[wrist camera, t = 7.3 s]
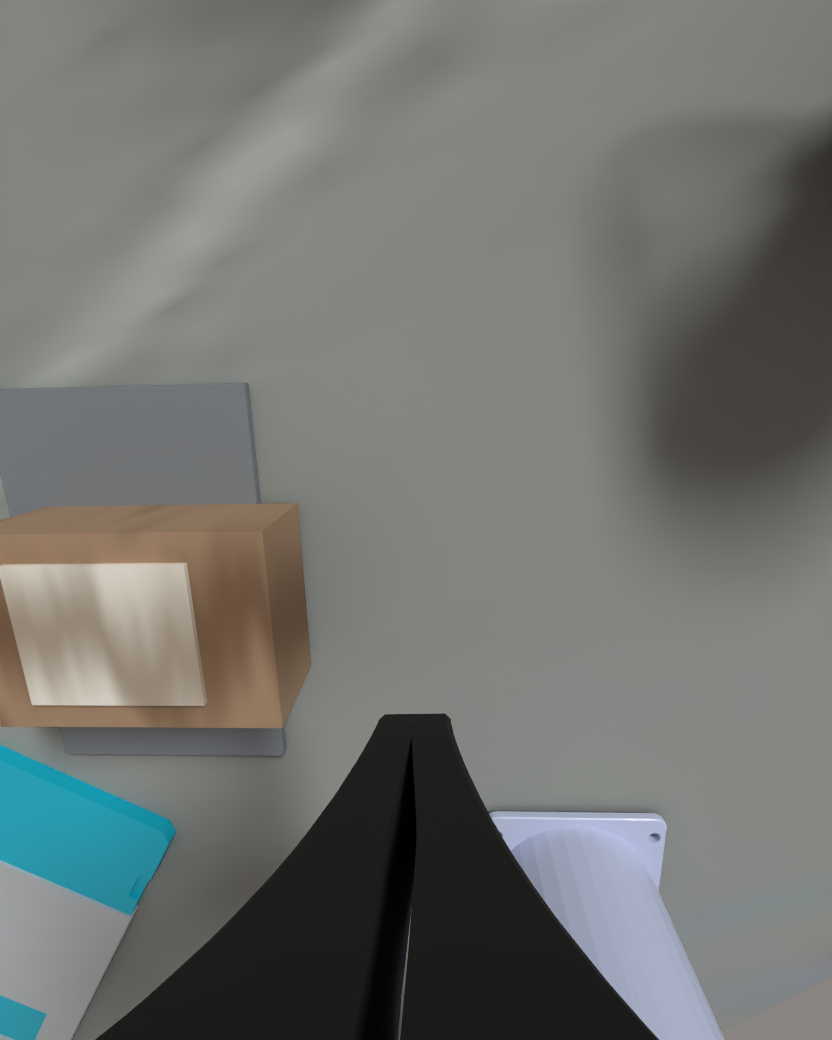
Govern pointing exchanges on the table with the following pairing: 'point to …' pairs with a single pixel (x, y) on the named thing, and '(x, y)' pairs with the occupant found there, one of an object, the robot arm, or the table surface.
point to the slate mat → (135, 495)
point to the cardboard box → (152, 616)
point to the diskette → (64, 892)
